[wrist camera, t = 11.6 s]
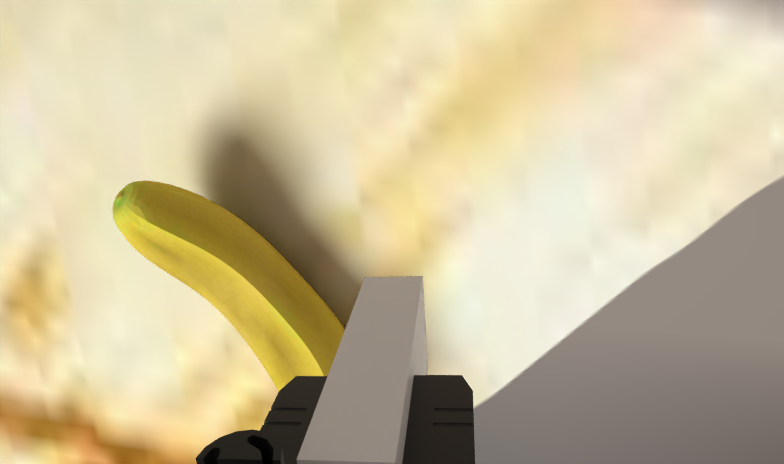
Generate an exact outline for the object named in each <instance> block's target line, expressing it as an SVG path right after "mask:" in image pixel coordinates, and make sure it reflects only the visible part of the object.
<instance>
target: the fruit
mask: <svg viewBox="0 0 784 464" xmlns="http://www.w3.org/2000/svg"><path fill="white" fill-rule="evenodd" d="M113 218H114V220H115V222H116V224H117V227H118V228H119V230H120V231H121V232H122V234H123V235H124V236H125V238H126V239H127V241H128V242H129V243H130V244H131V245H132V246H133V247H134V248H135V249H136V250H137V251H138V252H139V253H141V254H142V255H143V256H144V257H145V258H147V259H148V260H149V261H151V262H152V263H154V264H155V265H157V266H158V267H159V268H161V269H163V270H164V271H166V272H167V273H169V274H170V275H172V276H174V277H175V278H177V279H178V280H180V281H181V282H183V283H184V284H186V285H187V286H189V287H190V288H192V289H193V290H195V291H196V292H198V293H199V294H200V295H201V296H203V297H204V298H205V299H207V300H208V301H209V302H210V303H211V304H212V305H213V306H214V307H216V308H217V309H218V310H219V311H220V312H221V313H222V314H223V315H224V316H225V317H226V318H227V320H228V321H229V322H230V323H231V324H232V325H233V326H234V327H235V329H236V330H237V331H238V332H239V333H240V335H241V336H242V337H243V338H244V340H245V341H246V342H247V344H248V345H249V346H250V348H251V349H252V350H253V352H254V353H255V354H256V356H257V357H258V359H259V360H260V362H261V363H262V365H263V366H264V368H265V369H266V371H267V373H268V374H269V376H270V377H271V379H272V381H273V382H274V384H275V386H276V388H277V389H278V391H280V390H281V389H282V388H283V387H284V386H285V385H286V384H288V383H289V382H290V381H291V380H292V379H293V378H294V377H296V376H328V374H329V371H330V369H331V366H332V363H333V361H334V358H335V355H336V353H337V350H338V347H339V345H340V342H341V339H342V337H343V334H344V331H345V329H344V328H343V326H342V325H341V323H340V321H339V320H338V319H337V317H336V316H335V315H334V313H333V312H332V311H331V309H330V308H329V307H328V306H327V305H326V303H325V302H324V301H323V300H322V299H321V298H320V296H319V295H318V294H317V293H316V292H315V291H314V290H313V289H312V287H311V286H310V285H309V284H308V283H307V282H306V281H305V280H304V279H303V278H302V276H301V275H300V274H299V273H298V272H297V271H296V270H295V269H294V268H293V267H292V266H291V265H290V264H289V262H288V261H287V260H286V259H285V258H284V257H283V256H282V255H281V254H280V253H279V252H278V251H277V250H276V249H275V248H274V247H273V246H272V245H271V244H270V243H268V242H267V241H266V240H265V239H264V238H263V237H262V236H261V235H260V234H259V233H257V232H256V231H255V230H254V229H253V228H251V227H250V226H249V225H248V224H246V223H245V222H244V221H242V220H241V219H240V218H238V217H237V216H235V215H234V214H232V213H231V212H229V211H228V210H226V209H224V208H223V207H221V206H220V205H218V204H216V203H214V202H212V201H210V200H208V199H206V198H204V197H202V196H200V195H198V194H195V193H193V192H190V191H188V190H185V189H182V188H179V187H176V186H173V185H169V184H164V183H160V182H153V181H137V182H133V183H130V184H128V185H127V186H125V187H124V188H123V189H122V190H121V191H120V192H119V193H118V195H117V196H116V198H115V201H114V204H113Z"/></svg>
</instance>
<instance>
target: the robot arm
mask: <svg viewBox="0 0 784 464" xmlns="http://www.w3.org/2000/svg"><path fill="white" fill-rule="evenodd" d="M427 371H428V363H427V345H426V327H425V309H424V290H423V276H407V277H365V278H364V281H363V283H362V286H361V289H360V291H359V294H358V297H357V299H356V302H355V305H354V307H353V310H352V313H351V315H350V318H349V321H348V323H347V326H346V329H345V331H344V334H343V337H342V339H341V342H340V345H339V347H338V350H337V353H336V355H335V358H334V361H333V363H332V366H331V369H330V371H329V374H328V376H296V377H294V378H293V379H292V380H291V381H290V382H289V383H288V384H286V385H285V386H284V387H283V388H282V389H281V390H280V391H279V393H278V395H277V397H276V399H275V401H274V403H273V405H272V407H271V411H269V413H268V415H267V417H266V419H265V421H264V422H265V423H264V425H263V426H262V428H261V430H260V431H257V430H246V431H237V432H234V433H231V434H228V435H225V436H223V437H220V438H218V439H217V440H215V441H214V442H212V443H211V444H209V445H208V446H206V447H205V448H204V449H203V451H202V452H201V453H200V454H199V455H198V456H197V457H196V461H197V464H475V449H474V418H473V391H472V389H471V388H470V386H469V385H468V383H467V382H466V381H465V379H464V378H463V376H462V375H427Z"/></svg>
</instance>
